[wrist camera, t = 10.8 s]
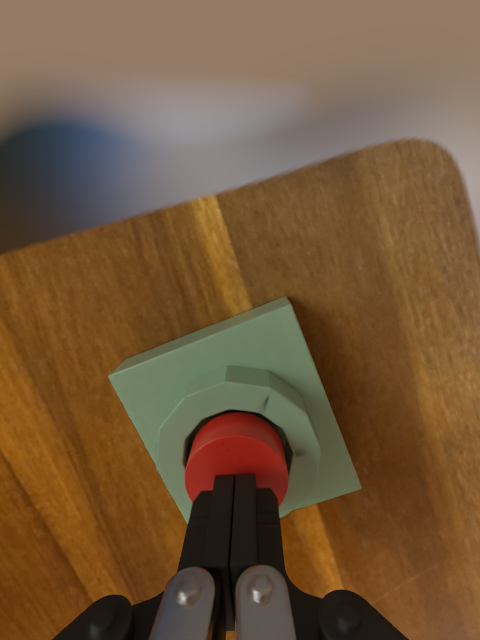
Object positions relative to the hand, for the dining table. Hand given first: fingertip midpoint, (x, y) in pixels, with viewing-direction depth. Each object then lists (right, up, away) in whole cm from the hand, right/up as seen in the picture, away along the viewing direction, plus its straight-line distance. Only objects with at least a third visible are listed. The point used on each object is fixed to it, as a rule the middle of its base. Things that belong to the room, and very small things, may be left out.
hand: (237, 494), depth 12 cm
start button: (0, +1, +2) cm, 2 cm away
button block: (0, +1, +6) cm, 6 cm away
